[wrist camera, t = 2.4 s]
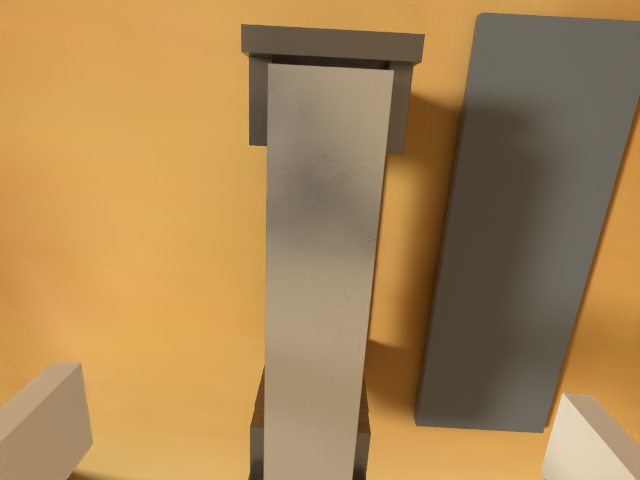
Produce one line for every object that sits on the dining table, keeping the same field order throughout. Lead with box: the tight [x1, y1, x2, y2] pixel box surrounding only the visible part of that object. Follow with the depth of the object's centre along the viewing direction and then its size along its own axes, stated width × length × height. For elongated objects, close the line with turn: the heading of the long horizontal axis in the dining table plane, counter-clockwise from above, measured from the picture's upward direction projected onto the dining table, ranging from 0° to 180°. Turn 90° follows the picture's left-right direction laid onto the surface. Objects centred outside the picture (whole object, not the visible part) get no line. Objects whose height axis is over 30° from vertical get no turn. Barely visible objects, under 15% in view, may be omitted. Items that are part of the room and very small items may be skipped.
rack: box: [241, 24, 425, 480], centre depth 20 cm, size 21×6×10 cm, turn 177°
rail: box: [264, 64, 394, 480], centre depth 16 cm, size 18×4×4 cm, turn 177°
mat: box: [414, 13, 640, 433], centre depth 24 cm, size 26×9×1 cm, turn 177°
